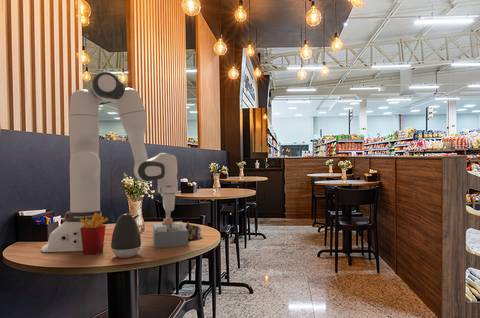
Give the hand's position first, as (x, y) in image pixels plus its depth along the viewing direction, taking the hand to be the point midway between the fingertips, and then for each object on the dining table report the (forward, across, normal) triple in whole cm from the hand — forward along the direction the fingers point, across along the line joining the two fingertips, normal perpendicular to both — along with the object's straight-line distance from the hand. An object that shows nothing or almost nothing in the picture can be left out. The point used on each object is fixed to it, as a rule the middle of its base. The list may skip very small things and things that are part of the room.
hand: (168, 218), depth 151 cm
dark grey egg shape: (+8, +28, -17) cm, 34 cm away
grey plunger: (+6, +16, -4) cm, 17 cm away
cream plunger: (+6, +9, +3) cm, 11 cm away
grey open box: (+8, +8, 0) cm, 11 cm away
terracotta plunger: (+5, 0, 0) cm, 5 cm away
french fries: (+8, +19, -28) cm, 35 cm away
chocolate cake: (+9, +6, +10) cm, 15 cm away
